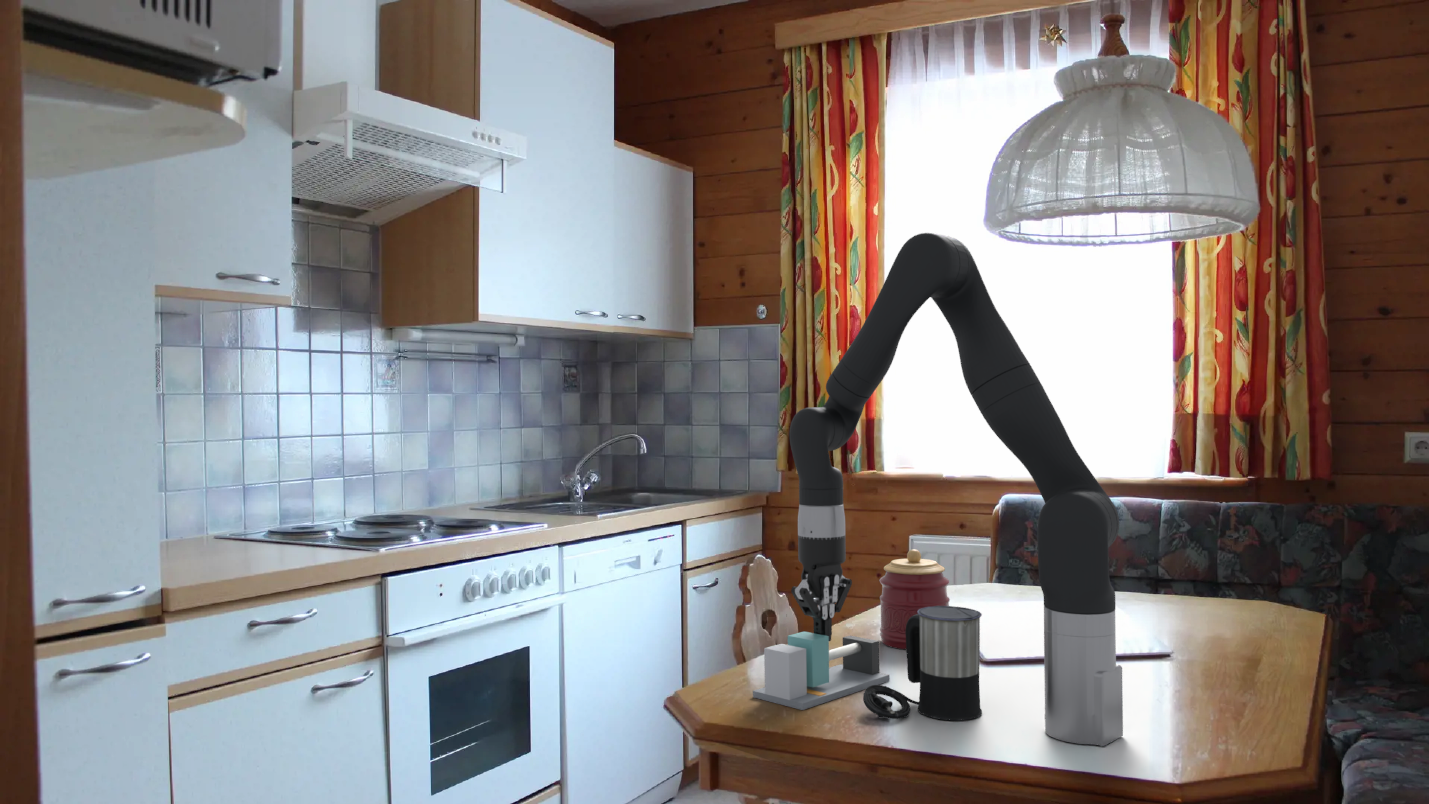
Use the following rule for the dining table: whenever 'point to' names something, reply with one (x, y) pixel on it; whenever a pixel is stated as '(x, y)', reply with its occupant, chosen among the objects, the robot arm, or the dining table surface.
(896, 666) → the dining table surface
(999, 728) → the dining table surface
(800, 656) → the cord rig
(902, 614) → the canister
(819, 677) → the sleeve
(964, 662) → the milk frother
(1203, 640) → the dining table surface
